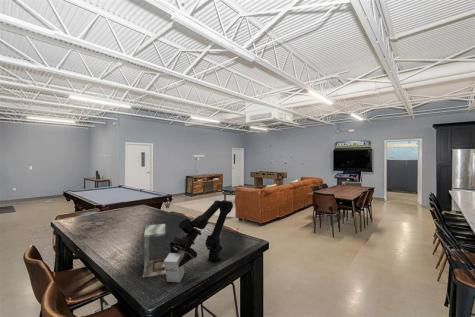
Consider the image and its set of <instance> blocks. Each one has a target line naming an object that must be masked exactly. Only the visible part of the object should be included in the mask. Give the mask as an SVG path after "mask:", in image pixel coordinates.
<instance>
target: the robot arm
mask: <svg viewBox="0 0 475 317" xmlns="http://www.w3.org/2000/svg"><path fill="white" fill-rule="evenodd" d="M233 208H234V204H233V201H231V200H225V199H224V200H215V201H214V202H213V203H212V204H211V206H209V207H208V209H206V210H205V212H204V213H202V214H200V215H198V216H197V217H195V218H194V219H193V220H191V219H190V218H188V217H186V218H185V219H183V220H181V221H180V222H179V224H178V229H180V230H181V231H182V232H183V233H184V234H186V235H184V236H182V237H180V236H174V238H173V240H172V241H171V242H170V243H169V244H168V245H169V248H170V252H169V253H179V251H181V252H183V256H182V258H183V259H182V260H181V262H180V264H179V267H181V266H182V265H185V264H186V263H187V264H188V262H190V261H192V260H194V259H196V258H197V257H198V252H196V250H195V249H193V248H191V247H192V246H193V245H195V240H196V239H197V237H198V236H199V237H200V236H202V231H201V230H204V229H206V226H208V224H209V220H210V219H211V218H212V217H213V216H214V215H215V213H216V212H218V211H219V215H218V217H217V219H216V222H215V225H214V227H213V230H212V233H211V234H210V235H209V234H208V235H207V236H206V239H205V247H206V249H207V250H209V252H208V258H207V260H208V261H209V262H211V263H217V262H218V261H219V262H220V261H221V260H222V258H221V257H220V253H221V252H222V250H223V246H222V245H221V244H220V242H221V237H220V236H221V233H222V230H223V227H224V225H225V222H226V219H227V216H228V214H230V213H231V212H232V209H233Z"/></svg>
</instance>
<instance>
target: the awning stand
mask: <svg viewBox="0 0 475 317" xmlns="http://www.w3.org/2000/svg"><path fill="white" fill-rule="evenodd" d="M162 236H166V223H161V224H148V225H147V224H146V226H145V229H144V234H143V240H144V241H143V242H144V246H143V248H144V250H143V251H144V253H143V254H144V256H143V257H144V259H143V260H144V268H143V273H142V278H148V277H156V276H162V275H163V276H164V275H166V272H165V265H164V260H165V259H166V258H167V257H166V258H160V259H159V258H158V259H153V260H150V238H151V237H152V238H153V237H162Z"/></svg>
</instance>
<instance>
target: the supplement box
mask: <svg viewBox="0 0 475 317" xmlns="http://www.w3.org/2000/svg"><path fill="white" fill-rule="evenodd" d="M164 259H165V258H164ZM182 259H183V253H180V252H178V253H170V252H169V253H168V255H167V256H166V259H165V260H164V265H165V272H166V274H165V277H166V282H168V283H169V282H170V283H180V282H181V280H182V278H183V277H184V275H185V267H184V265H185V264H184V265H182V266H181V267H179V264H180V262H181V260H182Z"/></svg>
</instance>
